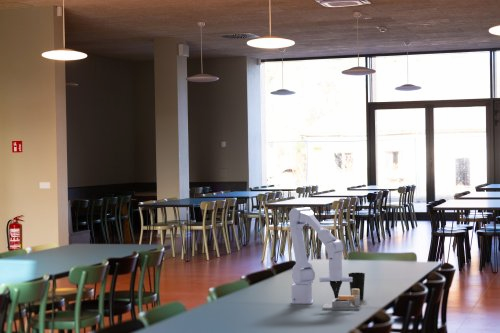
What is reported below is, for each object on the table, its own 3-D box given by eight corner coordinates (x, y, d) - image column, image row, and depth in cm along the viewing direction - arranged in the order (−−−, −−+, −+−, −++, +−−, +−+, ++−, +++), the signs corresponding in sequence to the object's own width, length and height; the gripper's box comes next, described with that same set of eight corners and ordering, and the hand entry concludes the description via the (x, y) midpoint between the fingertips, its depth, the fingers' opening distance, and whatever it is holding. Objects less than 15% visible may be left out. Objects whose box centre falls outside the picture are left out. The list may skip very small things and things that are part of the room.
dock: (322, 309, 348) (322, 298, 348) (324, 305, 358) (324, 294, 358) (359, 310, 346) (358, 298, 346) (360, 305, 355) (359, 294, 355)
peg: (351, 305, 357) (351, 289, 357) (352, 303, 361) (351, 288, 361) (359, 305, 357) (359, 289, 357) (360, 303, 360) (359, 288, 360)
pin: (338, 299, 351) (338, 296, 351) (338, 299, 353) (338, 295, 353) (354, 299, 350) (354, 296, 350) (354, 299, 352) (354, 295, 352)
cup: (353, 301, 368) (352, 275, 368) (346, 298, 375) (345, 273, 375) (368, 299, 370) (367, 274, 370) (361, 297, 377) (360, 272, 377)
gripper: (318, 268, 350) (319, 299, 350) (351, 268, 347) (352, 299, 347) (319, 266, 357) (320, 296, 357) (352, 266, 354) (353, 296, 354)
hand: (336, 298), depth 352 cm, fingers closed
